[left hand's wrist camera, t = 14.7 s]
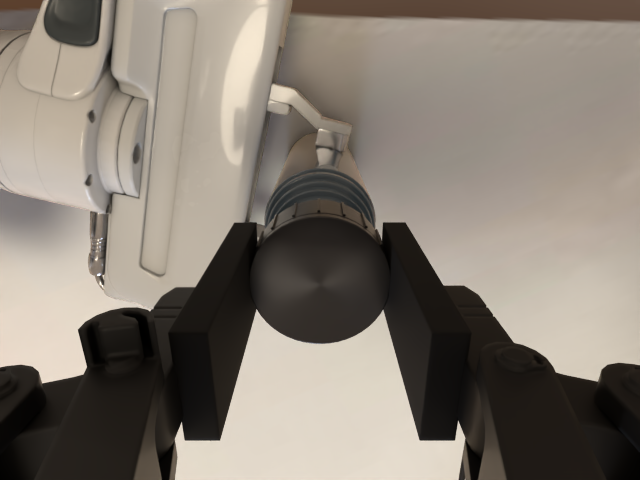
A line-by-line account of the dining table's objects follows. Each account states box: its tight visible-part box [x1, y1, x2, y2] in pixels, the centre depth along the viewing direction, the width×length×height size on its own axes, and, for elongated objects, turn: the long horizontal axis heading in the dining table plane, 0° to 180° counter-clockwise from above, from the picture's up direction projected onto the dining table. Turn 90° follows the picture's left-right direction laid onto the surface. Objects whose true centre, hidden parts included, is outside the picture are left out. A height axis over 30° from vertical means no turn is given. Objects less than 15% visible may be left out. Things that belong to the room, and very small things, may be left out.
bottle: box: [265, 132, 375, 229], centre depth 22 cm, size 5×5×18 cm
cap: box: [249, 198, 390, 344], centre depth 13 cm, size 4×4×2 cm
